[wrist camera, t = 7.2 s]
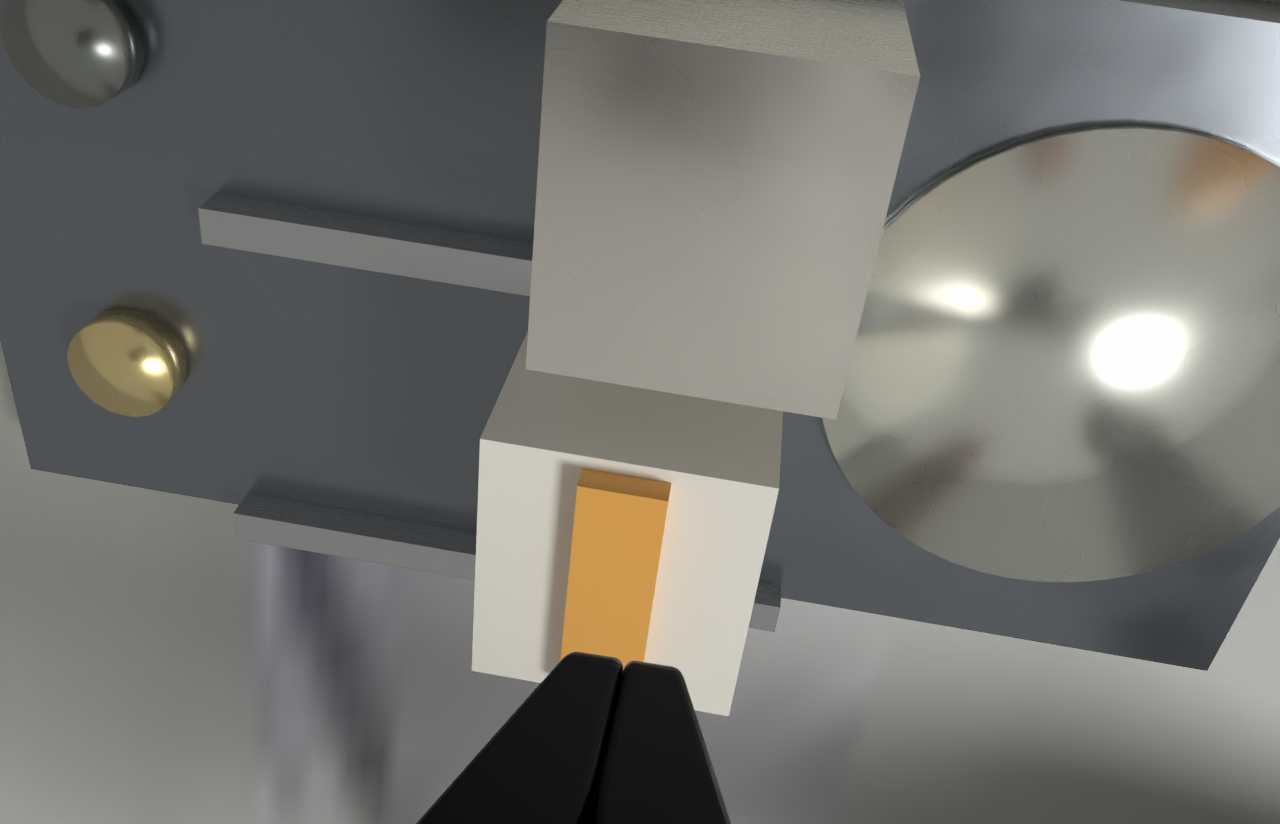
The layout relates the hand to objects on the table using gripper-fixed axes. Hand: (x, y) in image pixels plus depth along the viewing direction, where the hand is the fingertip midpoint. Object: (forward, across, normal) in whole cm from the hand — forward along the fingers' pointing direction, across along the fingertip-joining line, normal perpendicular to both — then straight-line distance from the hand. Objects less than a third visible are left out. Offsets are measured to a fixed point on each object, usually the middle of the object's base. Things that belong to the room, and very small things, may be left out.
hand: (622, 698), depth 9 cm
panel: (+11, +1, +2) cm, 11 cm away
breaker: (+10, +1, +5) cm, 11 cm away
